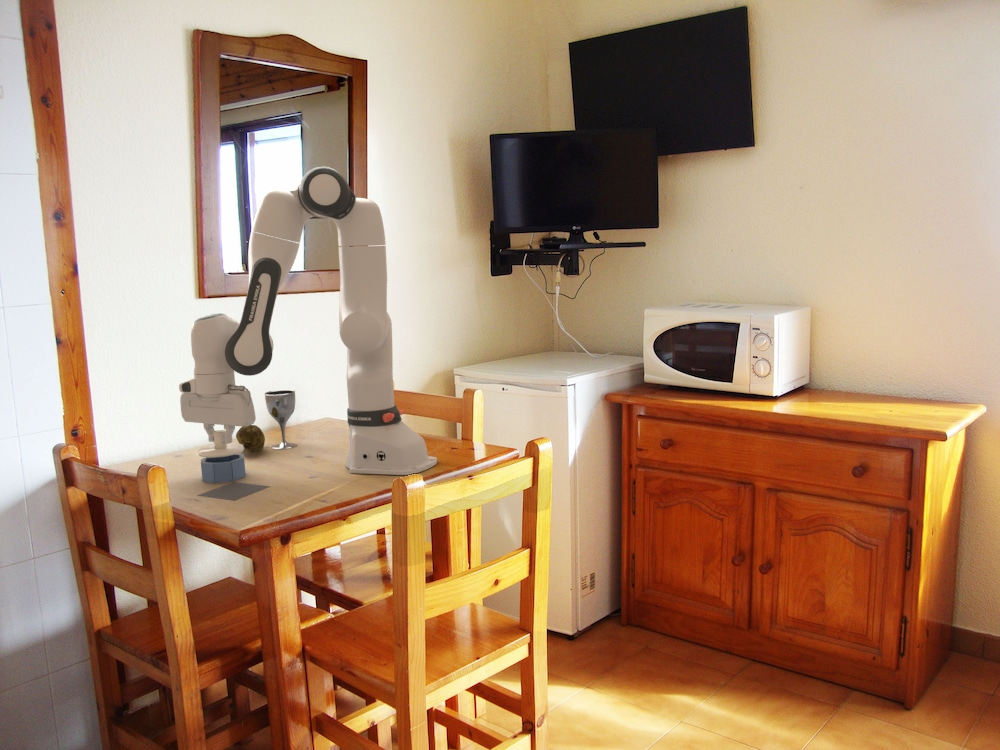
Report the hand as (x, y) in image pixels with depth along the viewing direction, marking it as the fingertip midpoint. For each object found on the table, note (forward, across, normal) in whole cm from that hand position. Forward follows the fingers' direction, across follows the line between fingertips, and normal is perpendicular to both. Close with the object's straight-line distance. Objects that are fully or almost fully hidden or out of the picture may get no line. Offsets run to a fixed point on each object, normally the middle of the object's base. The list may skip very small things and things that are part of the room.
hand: (220, 442), depth 195 cm
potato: (+9, +13, -23) cm, 28 cm away
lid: (+2, 0, 0) cm, 2 cm away
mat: (+9, -11, +8) cm, 16 cm away
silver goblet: (+9, +9, -31) cm, 34 cm away
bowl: (+9, 0, 0) cm, 9 cm away
